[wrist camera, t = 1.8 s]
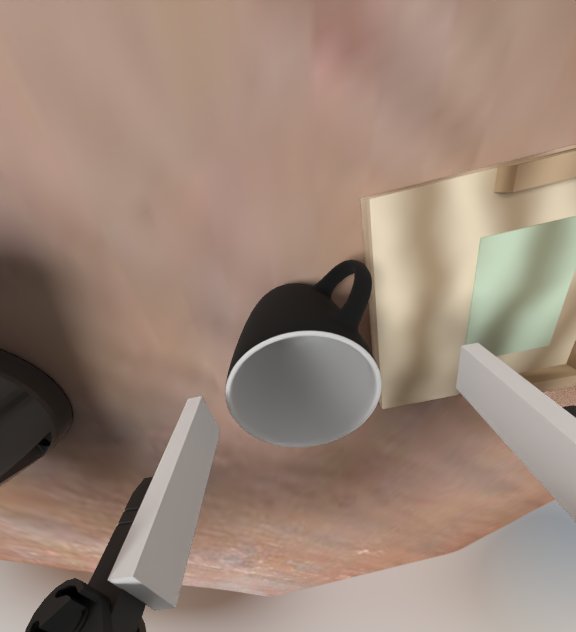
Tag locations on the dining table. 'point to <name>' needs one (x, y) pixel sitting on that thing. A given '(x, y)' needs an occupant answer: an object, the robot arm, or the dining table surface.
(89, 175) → the dining table surface
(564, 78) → the dining table surface
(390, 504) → the dining table surface
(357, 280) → the mug
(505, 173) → the board
